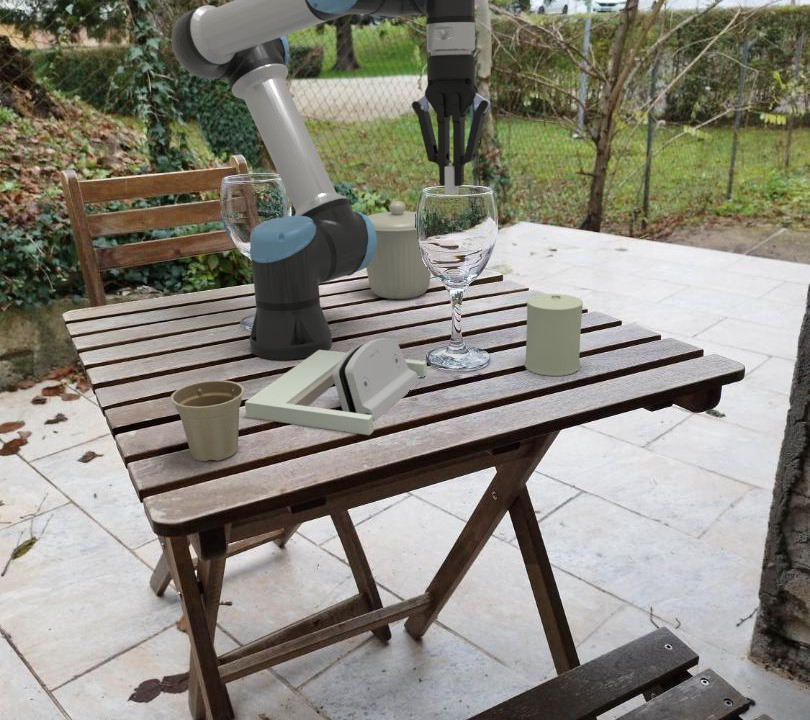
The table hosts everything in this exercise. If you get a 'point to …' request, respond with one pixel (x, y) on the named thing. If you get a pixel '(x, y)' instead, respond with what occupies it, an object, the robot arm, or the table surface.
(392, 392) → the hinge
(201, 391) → the flower pot
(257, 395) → the beige flat angled piece
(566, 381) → the table surface
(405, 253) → the canister
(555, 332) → the can
